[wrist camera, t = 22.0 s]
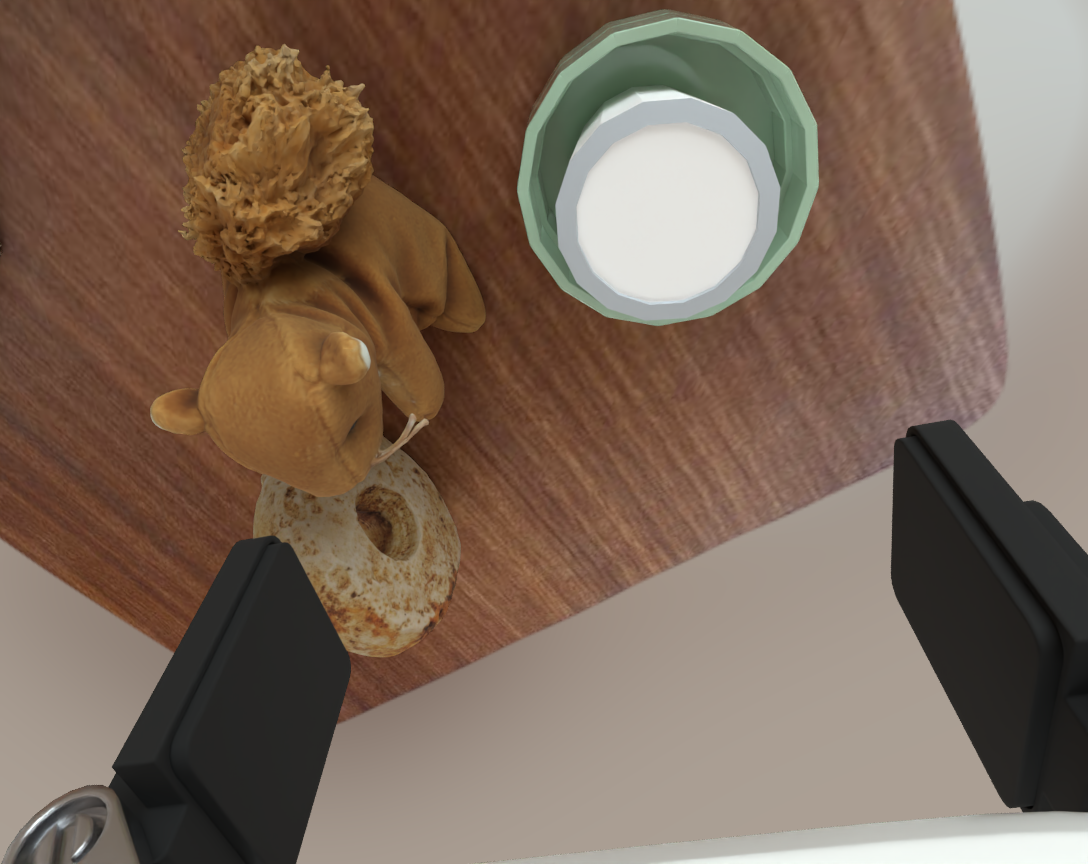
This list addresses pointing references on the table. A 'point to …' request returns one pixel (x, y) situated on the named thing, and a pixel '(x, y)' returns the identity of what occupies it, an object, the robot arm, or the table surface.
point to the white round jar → (665, 204)
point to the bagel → (371, 552)
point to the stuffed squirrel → (311, 280)
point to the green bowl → (685, 65)
